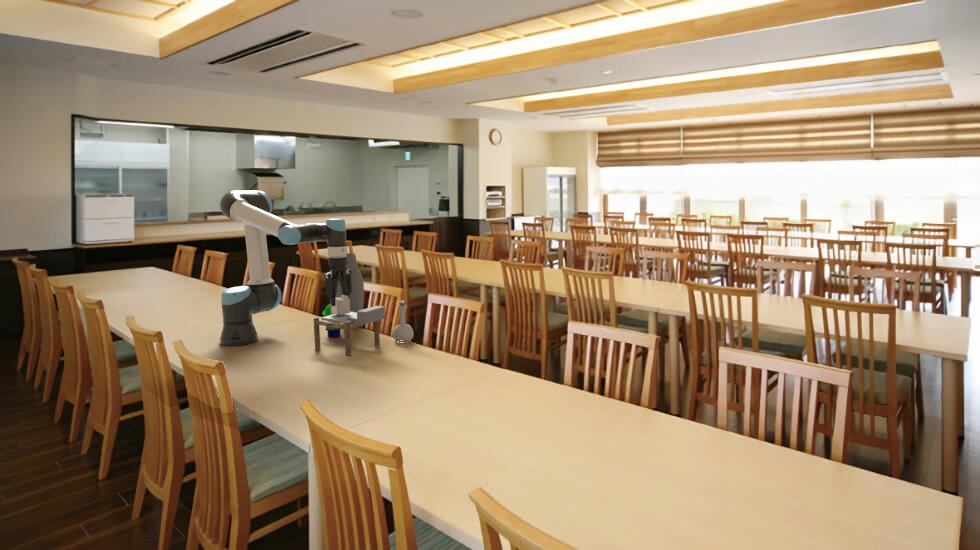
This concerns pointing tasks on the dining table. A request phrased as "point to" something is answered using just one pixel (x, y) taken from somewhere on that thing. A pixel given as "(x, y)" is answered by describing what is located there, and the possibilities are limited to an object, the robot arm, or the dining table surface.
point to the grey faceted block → (359, 316)
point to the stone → (342, 306)
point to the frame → (346, 327)
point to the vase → (354, 285)
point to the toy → (331, 330)
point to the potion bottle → (403, 326)
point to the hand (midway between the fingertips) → (340, 311)
